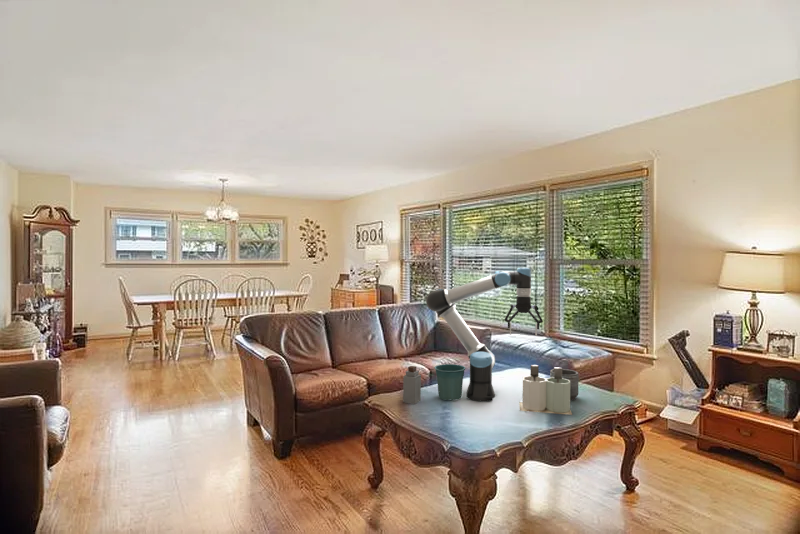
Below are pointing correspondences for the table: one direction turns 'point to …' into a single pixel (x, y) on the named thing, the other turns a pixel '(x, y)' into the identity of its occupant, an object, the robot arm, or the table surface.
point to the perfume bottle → (412, 386)
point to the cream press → (534, 393)
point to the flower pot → (450, 381)
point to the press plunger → (534, 372)
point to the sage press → (558, 393)
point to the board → (542, 410)
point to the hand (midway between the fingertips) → (523, 334)
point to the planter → (573, 379)
